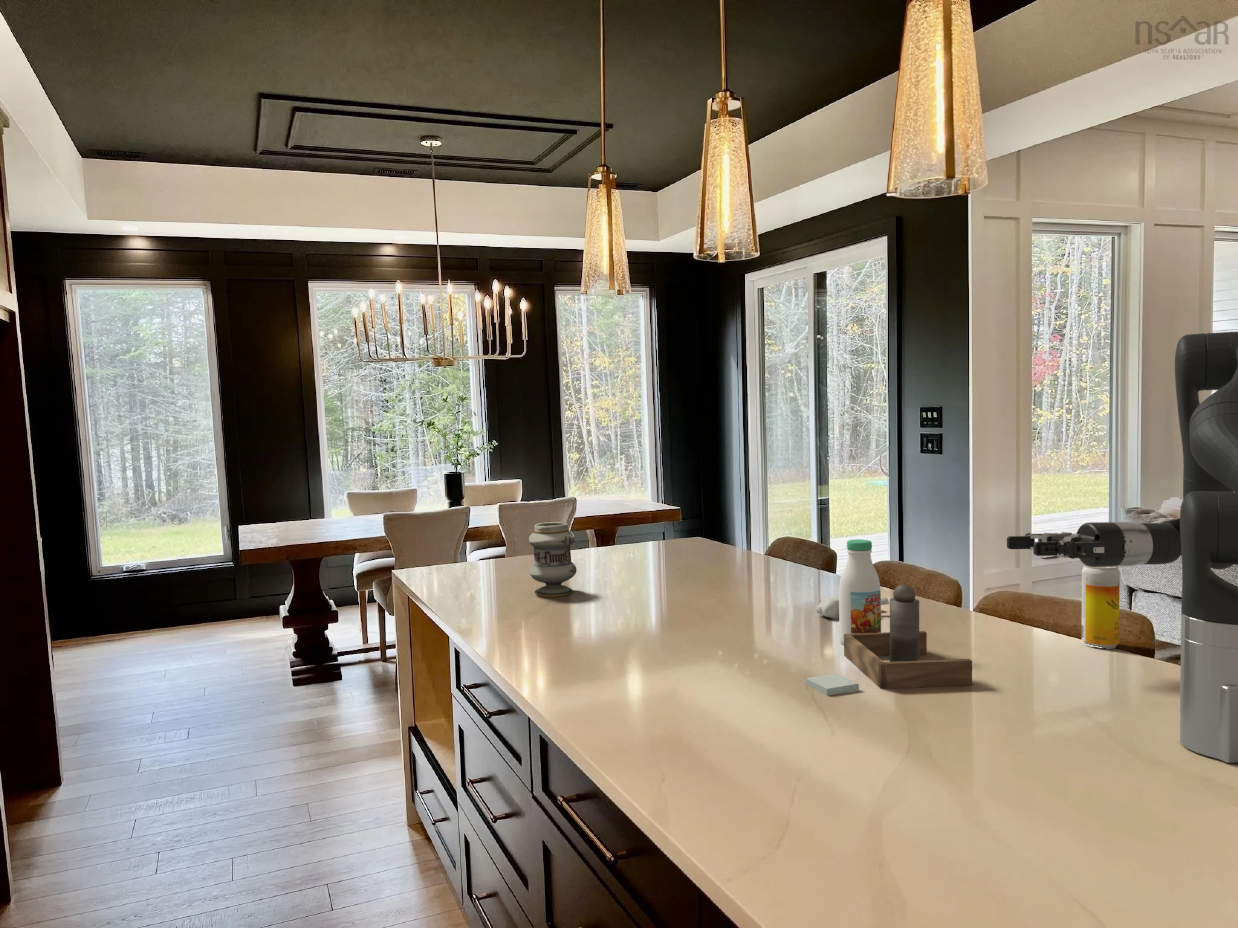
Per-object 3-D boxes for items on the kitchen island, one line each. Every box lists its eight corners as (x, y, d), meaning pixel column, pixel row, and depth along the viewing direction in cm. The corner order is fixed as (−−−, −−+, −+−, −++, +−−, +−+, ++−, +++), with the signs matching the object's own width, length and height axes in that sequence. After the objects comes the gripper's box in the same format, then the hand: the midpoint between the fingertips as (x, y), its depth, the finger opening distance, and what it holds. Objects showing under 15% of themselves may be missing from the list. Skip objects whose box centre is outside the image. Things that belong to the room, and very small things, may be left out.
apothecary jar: (526, 590, 221) (524, 522, 220) (570, 586, 225) (568, 519, 224) (535, 599, 210) (533, 527, 209) (582, 595, 213) (580, 524, 212)
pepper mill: (923, 672, 143) (923, 586, 142) (896, 673, 143) (895, 587, 142) (912, 664, 148) (912, 581, 147) (885, 665, 147) (885, 582, 147)
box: (972, 684, 136) (972, 660, 136) (880, 688, 135) (880, 663, 135) (924, 652, 155) (924, 630, 155) (844, 655, 154) (843, 633, 154)
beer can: (1124, 650, 153) (1124, 568, 152) (1087, 649, 154) (1088, 568, 154) (1111, 641, 159) (1112, 562, 158) (1076, 640, 160) (1077, 562, 160)
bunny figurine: (808, 596, 187) (866, 582, 192) (811, 618, 188) (868, 604, 192) (831, 604, 178) (891, 590, 183) (834, 628, 179) (894, 613, 183)
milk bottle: (835, 646, 160) (834, 542, 159) (844, 636, 167) (843, 536, 166) (876, 650, 157) (876, 544, 156) (884, 640, 164) (883, 538, 163)
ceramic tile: (858, 693, 135) (858, 683, 135) (826, 698, 133) (826, 688, 133) (836, 682, 140) (836, 673, 140) (805, 687, 138) (805, 678, 138)
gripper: (1088, 518, 150) (999, 519, 149) (1142, 526, 135) (1044, 527, 135) (1087, 560, 150) (999, 562, 149) (1141, 572, 136) (1044, 574, 135)
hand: (1020, 545), depth 142 cm, fingers open, 8 cm apart
